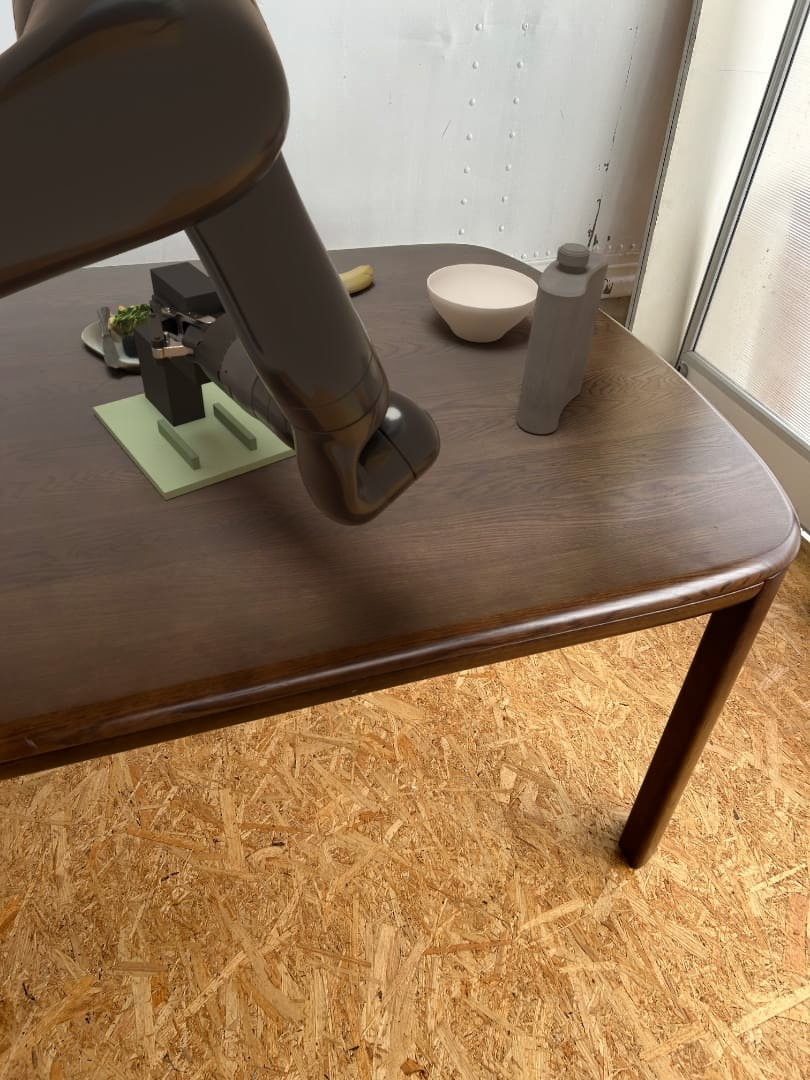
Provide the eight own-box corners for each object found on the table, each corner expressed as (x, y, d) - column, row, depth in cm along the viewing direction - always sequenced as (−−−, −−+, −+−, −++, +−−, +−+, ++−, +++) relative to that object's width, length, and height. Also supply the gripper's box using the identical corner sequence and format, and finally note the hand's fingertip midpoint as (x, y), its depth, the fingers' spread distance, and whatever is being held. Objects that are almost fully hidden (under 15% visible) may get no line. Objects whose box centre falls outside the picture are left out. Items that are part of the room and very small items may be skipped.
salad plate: (48, 336, 107) (40, 303, 104) (161, 301, 117) (157, 271, 114) (126, 389, 97) (119, 355, 94) (242, 346, 108) (239, 314, 105)
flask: (543, 375, 106) (570, 224, 93) (584, 386, 104) (618, 233, 91) (504, 426, 95) (530, 263, 82) (550, 439, 94) (583, 275, 81)
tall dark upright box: (197, 386, 77) (185, 297, 71) (163, 354, 82) (149, 268, 76) (234, 376, 79) (225, 289, 73) (198, 345, 84) (188, 261, 78)
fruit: (385, 295, 124) (386, 275, 121) (293, 306, 118) (292, 285, 116) (368, 278, 129) (369, 258, 126) (279, 288, 123) (278, 267, 121)
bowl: (474, 367, 107) (480, 318, 102) (401, 323, 116) (403, 277, 111) (554, 338, 115) (563, 292, 110) (480, 300, 124) (485, 256, 119)
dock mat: (165, 500, 81) (150, 416, 74) (94, 414, 93) (76, 335, 86) (299, 453, 89) (296, 374, 82) (218, 379, 100) (209, 305, 94)
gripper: (331, 309, 69) (239, 248, 79) (179, 347, 62) (99, 275, 72) (332, 385, 74) (245, 318, 84) (191, 429, 67) (115, 350, 77)
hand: (178, 299), depth 78 cm, fingers closed on tall dark upright box, 4 cm apart
